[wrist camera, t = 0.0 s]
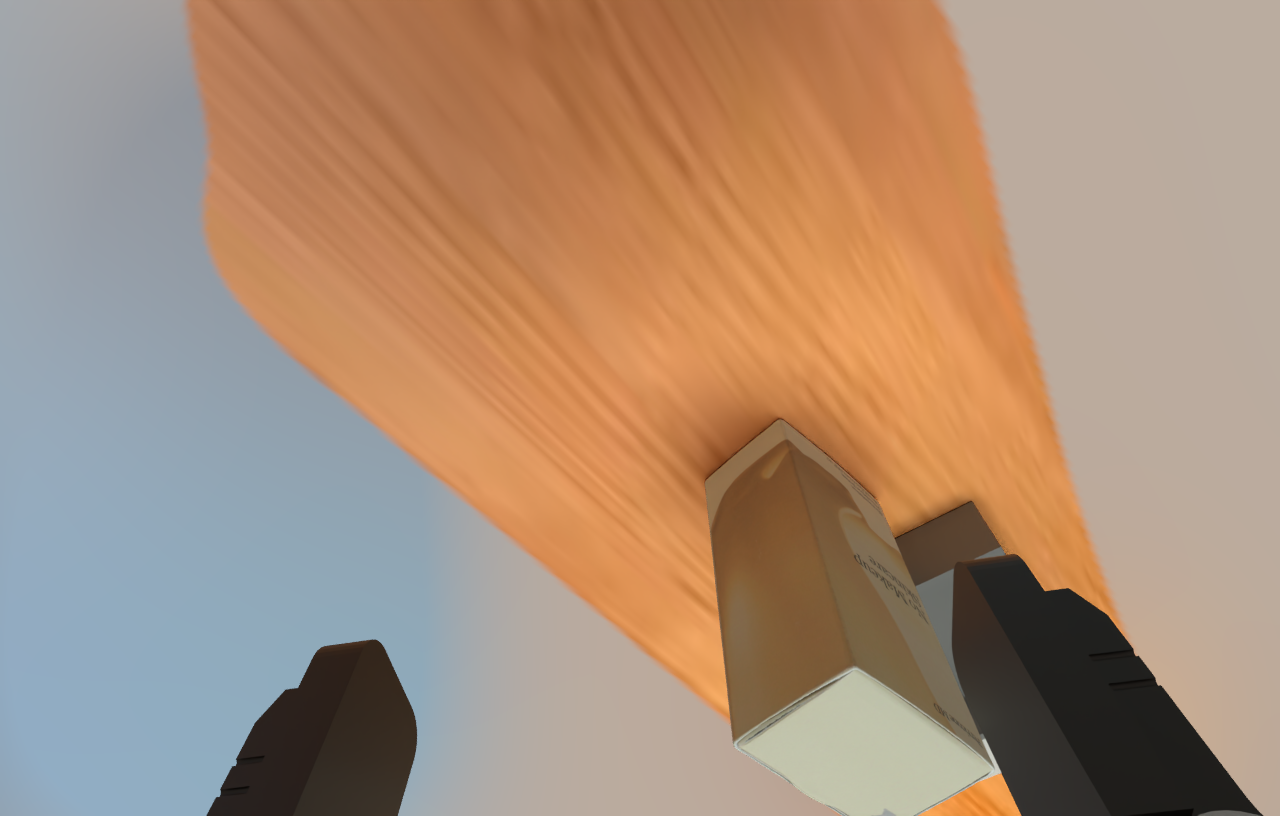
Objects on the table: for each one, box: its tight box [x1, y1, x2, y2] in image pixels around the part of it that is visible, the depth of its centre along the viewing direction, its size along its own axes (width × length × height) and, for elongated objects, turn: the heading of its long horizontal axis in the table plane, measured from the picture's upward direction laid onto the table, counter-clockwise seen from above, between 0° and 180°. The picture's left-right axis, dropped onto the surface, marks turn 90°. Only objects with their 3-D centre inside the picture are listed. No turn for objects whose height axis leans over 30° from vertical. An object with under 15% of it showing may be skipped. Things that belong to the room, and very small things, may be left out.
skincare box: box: [705, 419, 995, 816], centre depth 25 cm, size 6×4×12 cm
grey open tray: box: [895, 501, 1006, 780], centre depth 35 cm, size 16×10×3 cm, turn 35°
